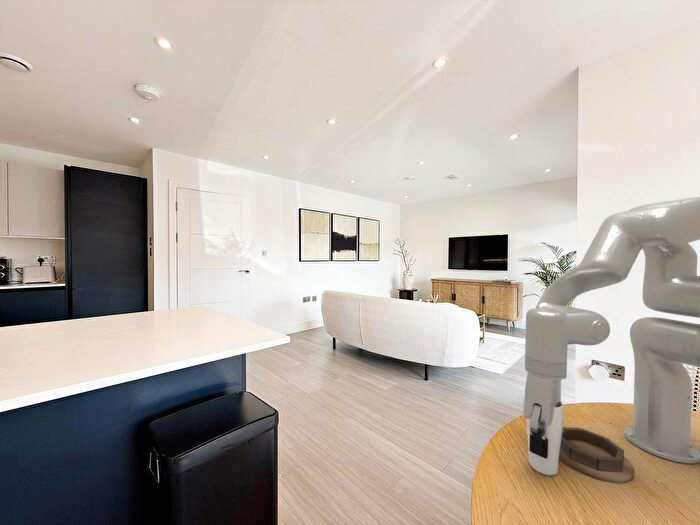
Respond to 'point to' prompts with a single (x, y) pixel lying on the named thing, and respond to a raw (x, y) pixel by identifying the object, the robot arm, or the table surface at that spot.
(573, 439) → the glass holder
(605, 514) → the table surface
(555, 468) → the drinking glass
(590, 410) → the table surface
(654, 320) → the robot arm
